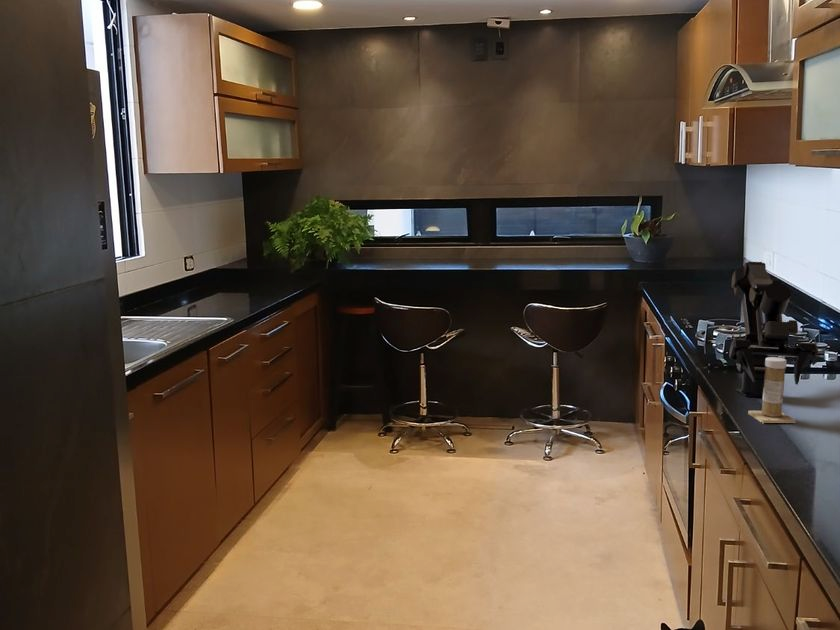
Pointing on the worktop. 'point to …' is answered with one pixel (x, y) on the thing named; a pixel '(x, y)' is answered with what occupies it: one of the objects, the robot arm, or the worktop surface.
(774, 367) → the sprinkles bottle
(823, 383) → the worktop surface
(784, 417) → the trivet
